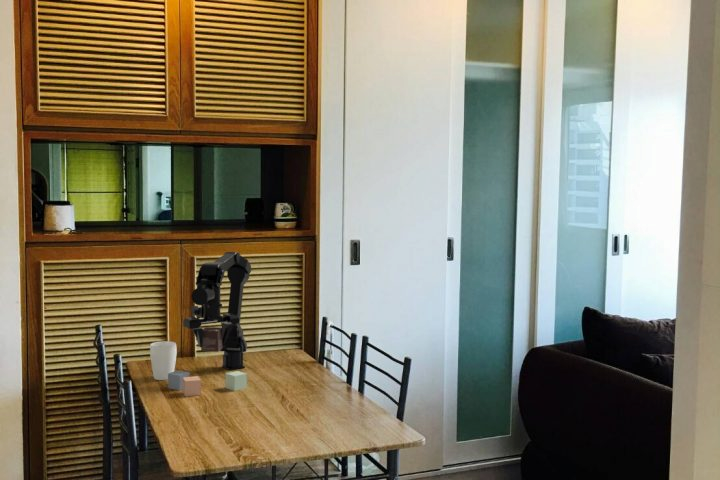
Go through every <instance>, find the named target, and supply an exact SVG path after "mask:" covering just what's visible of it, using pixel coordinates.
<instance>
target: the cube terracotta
mask: <svg viewBox="0 0 720 480" xmlns="http://www.w3.org/2000/svg"><path fill="white" fill-rule="evenodd" d="M182 393H183V395H184V397H193V396H201V395H202V379H201V378H200V377H199V375H196V376H190V377H183V389H182Z"/></svg>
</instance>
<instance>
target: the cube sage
mask: <svg viewBox="0 0 720 480" xmlns="http://www.w3.org/2000/svg"><path fill="white" fill-rule="evenodd" d="M247 379H248V373H246V372H242V371H239V370H236V371H231V372H225V389H227V390H230V391H234V392H236V391H242V390H245V389H247V388H248V380H247Z"/></svg>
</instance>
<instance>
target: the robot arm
mask: <svg viewBox="0 0 720 480" xmlns="http://www.w3.org/2000/svg"><path fill="white" fill-rule="evenodd" d="M225 272H226V273H227V275H226V277H227V278H228V280H229V283H230V289H229V298H228V299H229V300H228V308H227V313H223V314H222V315H221V308H222V307H223V304H222V303H221V286H222V285H223V284H222V282H223V279H224V277H225ZM251 272H252V265H251V263H250V262H249V260H248V259H247V258H246V257H243V256H242V255H241V253H239V252H238V251H226V252H224V254H223V255H221V256H220V257H218V258H217V259H216V260H214V261H212V262H211V261H210V262H205V263H202V265H200V268H199V271H198V274H197V276H196V281H195V285H196V288H195V289H193V291H192V293H191V294H190V295H191V300H192V302H193V303H194V304H195V305H193V306H191V308H190V312H191V313H190V315H191V316H192V317H184V319H183V321H182V323H183V324H182V326H183V327H184V328H187V329H189V330H191V331H192V332H193V333H194V336H195V339H196V341H197V344H198V347H199V348H201V347H202V335H203V329H204V328H202V327H201V326H202V325H207V324H217V323H220V325H221V328H222V339H223V348H222V349H221V350H220V351H219V352H223V355H222V365H221V367H223V368H224V369H227V370H229V371H232V370H237V369H245V368H246V366H245V365H244V353H245V352H247V348H248V347H247V346H248V344H247V341H246V339H245V337H244V330H243V329H242V326H241V316H242V307H243V306H242V305H243V296H244V295H243V294H244V286H245V284H246V283H247V281H249V279H250V274H251ZM199 306H200V307H199Z"/></svg>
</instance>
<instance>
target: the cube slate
mask: <svg viewBox="0 0 720 480" xmlns="http://www.w3.org/2000/svg"><path fill="white" fill-rule="evenodd" d="M190 375H191V373H190V371H183V370H179V369H178V370H174V372H171V373H168V380H167V389H170V390H171V389H172V390H174V391H175V390H177V391H183V377H191V376H190Z"/></svg>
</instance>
